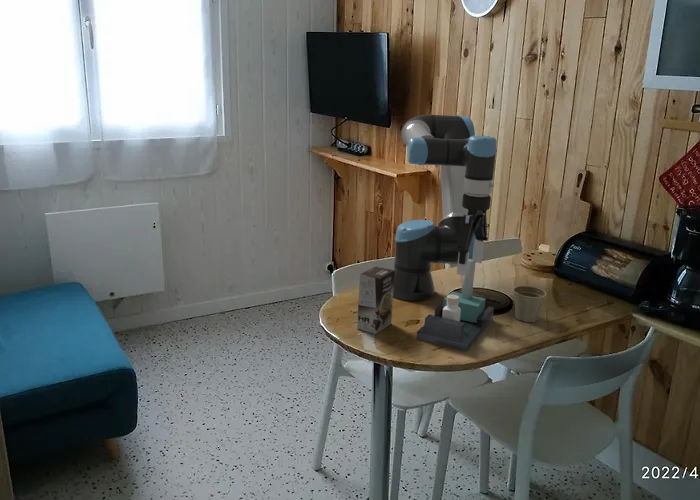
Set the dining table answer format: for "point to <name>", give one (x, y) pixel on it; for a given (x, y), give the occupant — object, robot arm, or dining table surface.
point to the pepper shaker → (452, 308)
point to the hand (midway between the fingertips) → (469, 268)
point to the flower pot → (528, 302)
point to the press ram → (469, 297)
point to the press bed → (467, 336)
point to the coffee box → (375, 299)
